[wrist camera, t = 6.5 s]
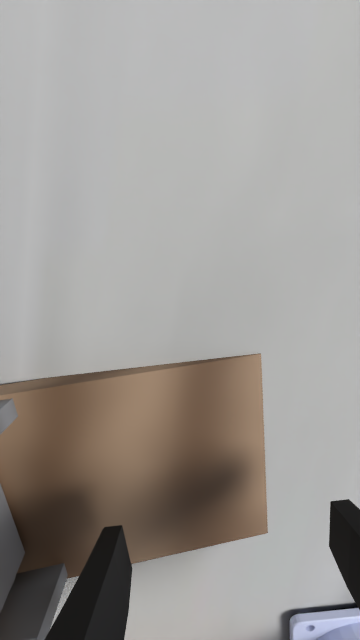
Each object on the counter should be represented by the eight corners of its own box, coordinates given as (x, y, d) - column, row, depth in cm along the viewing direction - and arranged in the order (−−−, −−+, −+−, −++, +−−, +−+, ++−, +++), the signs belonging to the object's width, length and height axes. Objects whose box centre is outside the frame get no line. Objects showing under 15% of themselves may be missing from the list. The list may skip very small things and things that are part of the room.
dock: (253, 345, 12) (305, 405, 7) (261, 514, 14) (303, 639, 10) (-153, 392, 12) (-361, 480, 7) (-75, 550, 14) (-194, 691, 10)
